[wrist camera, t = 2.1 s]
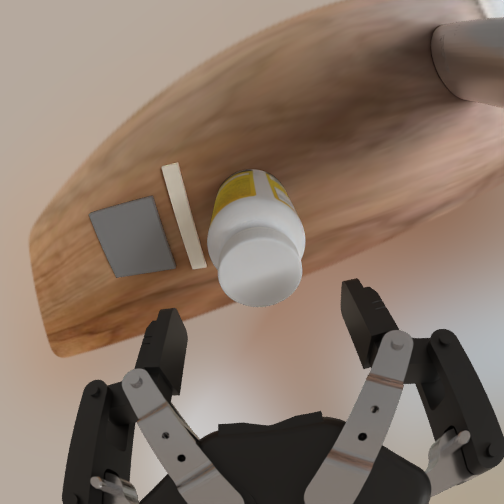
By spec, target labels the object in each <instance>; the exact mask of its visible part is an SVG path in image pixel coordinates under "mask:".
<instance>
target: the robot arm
mask: <svg viewBox="0 0 504 504" xmlns="http://www.w3.org/2000/svg"><path fill="white" fill-rule="evenodd" d="M431 51H432V57H433V61H434V64H435V67H436V70H437V72H438V74H439V76H440V78H441V80H442V81H443V83H444V84H445V86H446V87H447V88H448V89H449V90H450V91H451V92H452V93H453V94H454V95H455V96H457V97H459V98H461V99H463V100H468V101H473V102H479V103H483V104H488V105H492V106H496V107H501V108H504V17H503V18H487V19H477V20H469V21H461V22H456V23H450V24H445V25H441V26H439V27H438V28H436V30H435V31H434V33H433V36H432V39H431ZM341 312H342V316H343V319H344V321H345V324H346V326H347V328H348V331H349V333H350V335H351V338H352V341H353V343H354V346H355V348H356V351H357V353H358V356H359V359H360V361H361V364H362V366H363V369H365V368H369V367H371V371H370V373H369V375H368V377H367V378H366V381H365V383H364V385H363V388H362V390H361V392H360V394H359V397H358V399H357V401H356V403H355V405H354V407H353V410H352V412H351V414H350V416H349V418H348V420H347V422H345V421H343V420H340V419H336V418H331V417H322V413H321V411H319V412H314V413H309V414H303V415H298V416H294V417H292V418H289V419H287V420H284V421H282V422H279V423H276V424H274V425H269V426H266V425H257V424H249V423H234V424H219V425H218V431H215V432H213V433H210V434H208V435H206V436H205V437H203V438H202V439H199V437H198V436H197V435H196V434H195V433H194V432H193V431H192V430H191V428H190V427H189V426H188V424H187V423H186V422H185V420H184V419H183V418H182V416H181V415H180V414H179V412H178V411H177V409H176V408H175V407H174V405H173V404H172V403H171V397H172V395H180V389H181V382H182V375H183V368H184V360H185V354H186V348H187V340H188V337H187V332H186V328H185V326H184V324H183V322H182V320H181V318H180V315H179V313H178V311H177V309H176V308H170V309H162V310H160V311H159V314H158V318H157V320H156V321H152V322H151V323H150V325H149V326H148V327H147V329H146V332H145V335H144V339H143V342H142V345H141V348H140V352H139V355H138V359H137V362H136V366H135V369H133V370H131V371H130V372H128V373H127V374H126V375H125V376H124V378H123V380H122V382H118V383H115V384H111V385H108V386H107V385H106V384H105V383H104V382H103V381H102V380H94V381H92V382H90V383H89V384H88V385H87V386H86V387H85V389H84V392H83V395H82V399H81V402H80V406H79V410H78V413H77V417H76V421H75V425H74V430H73V434H72V439H71V444H70V448H69V453H68V459H67V464H66V471H65V478H64V484H63V493H62V501H63V504H429V500H430V497H432V496H434V495H437V494H439V493H441V492H443V491H444V490H447V489H449V488H451V487H453V486H455V485H459V484H462V483H464V482H466V481H468V480H470V479H472V478H474V477H476V476H478V475H480V474H482V473H484V472H486V471H488V470H490V469H492V468H493V467H495V466H497V465H498V464H499V463H500V462H501V460H502V459H503V457H504V436H503V434H502V431H501V428H500V425H499V423H498V420H497V418H496V415H495V413H494V410H493V408H492V406H491V403H490V401H489V399H488V397H487V394H486V392H485V390H484V388H483V386H482V384H481V382H480V379H479V377H478V375H477V373H476V372H475V370H474V368H473V366H472V364H471V362H470V360H469V358H468V356H467V354H466V353H465V351H464V349H463V348H462V346H461V344H460V342H459V340H458V339H457V337H456V335H454V333H453V332H451V331H449V330H446V329H439V330H436V331H435V332H433V334H432V335H431V338H411V336H410V335H409V334H408V333H406V332H404V331H401V330H399V328H398V327H397V325H396V323H395V321H394V320H393V318H392V316H391V315H390V313H389V311H388V309H387V308H386V307H385V305H384V303H383V302H382V299H381V298H380V296H379V295H378V293H377V292H376V291H375V290H373V289H372V288H371V287H365V288H363V286H362V284H361V283H360V281H359V280H358V279H357V278H356V279H351V280H347V281H343V282H342V290H341ZM413 383H415V384H416V387H417V389H418V392H419V395H420V397H421V400H422V403H423V406H424V408H425V411H426V414H427V417H428V420H429V423H430V426H431V429H432V432H433V436H434V439H435V443H433V445H432V446H431V448H430V450H429V454H428V457H429V464H428V467H427V469H426V471H425V472H424V471H423V470H422V469H421V468H419V467H418V466H416V465H414V464H413V463H410V462H409V461H407V460H406V459H404V458H402V457H401V456H399V455H397V454H395V453H394V452H392V451H391V450H389V449H388V448H386V447H384V446H383V445H382V444H383V442H384V439H385V437H386V434H387V432H388V429H389V427H390V424H391V422H392V419H393V417H394V414H395V411H396V408H397V405H398V403H399V399H400V396H401V394H402V390H403V386H404V385H403V384H413ZM135 422H137V424H138V426H139V428H140V429H141V431H142V433H143V435H144V436H145V438H146V440H147V441H148V443H149V445H150V446H151V448H152V450H153V451H154V453H155V454H156V456H157V458H158V459H159V461H160V462H161V464H162V465H163V467H164V468H165V470H166V471H167V473H168V474H167V475H166V476H165V477H164V478H163V479H162V480H161V481H160V482H159V484H157V485H156V486H155V487H154V489H152V491H150V492H149V493H148V494H147V495H146V496H145V497H144V498H143V499H142V500H141V501H140V503H139V501H138V495H137V493H136V489H135V487H134V486H133V485H132V484H131V483H130V482H129V481H130V467H131V455H132V446H133V437H134V429H135Z"/></svg>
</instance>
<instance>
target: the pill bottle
mask: <svg viewBox="0 0 504 504" xmlns="http://www.w3.org/2000/svg"><path fill="white" fill-rule="evenodd" d="M207 246H208V252H209V256H210V258H211V261H212V263H213V264H214V266H215V267H216V268H217V270H218V279H219V283H220V285H221V287H222V289H223V291H224V292H225V293H226V295H228V296H229V297H230V298H231V299H233V300H234V301H236V302H238V303H240V304H243V305H246V306H251V307H265V306H270V305H274V304H277V303H279V302H281V301H283V300H285V299H286V298H287V297H289V296H290V295H291V294H292V293H293V292H294V291H295V290H296V288H297V287H298V285H299V283H300V281H301V277H302V264H301V258H302V256H303V253H304V249H305V232H304V229H303V226H302V223H301V221H300V219H299V217H298V214H297V212H296V210H295V208H294V207H293V205H292V203H291V201H290V199H289V197H288V195H287V193H286V191H285V189H284V187H283V186H282V184H281V183H280V182H279V181H278V180H277V179H276V178H275V177H274V176H273V175H271V174H269V173H267V172H265V171H261V170H256V169H248V170H243V171H239V172H237V173H235V174H233V175H231V176H230V177H229V178H227V179H226V180H225V181H224V182H223V184H222V185H221V187H220V189H219V191H218V193H217V196H216V200H215V205H214V209H213V214H212V218H211V223H210V227H209V232H208V238H207Z"/></svg>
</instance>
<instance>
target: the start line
mask: <svg viewBox="0 0 504 504" xmlns="http://www.w3.org/2000/svg"><path fill="white" fill-rule="evenodd" d="M162 171H163V175H164V178H165V182H166V186H167V189H168V193H169V196H170V200H171V203H172V206H173V210H174V213H175V216H176V220H177V223H178V226H179V229H180V233H181V236H182V239H183V242H184V245H185V248H186V251H187V254H188V257H189V260H190V263H191V266H192V269H199V268H205V267H207V264H206V261H205V258H204V254H203V251H202V248H201V244H200V241H199V237H198V234H197V230H196V227H195V223H194V220H193V216H192V213H191V209H190V205H189V202H188V198H187V194H186V191H185V187H184V183H183V179H182V175H181V171H180V167H179V163H178V162H177V163H173V164H169V165H165V166H162Z"/></svg>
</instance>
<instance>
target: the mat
mask: <svg viewBox="0 0 504 504" xmlns="http://www.w3.org/2000/svg"><path fill="white" fill-rule="evenodd" d="M89 216H90V219H91V222H92V224H93V227H94V229H95V232H96V234H97V236H98V239H99V241H100V243H101V246H102V248H103V250H104V252H105V255H106V257H107V259H108V261H109V263H110V266H111V268H112V270H113V272H114V274H115V276H116V278H118V277H125V276H131V275H137V274H144V273H150V272H157V271H163V270H169V269H175V268H176V264H175V261H174V258H173V255H172V253H171V250H170V247H169V244H168V241H167V238H166V235H165V232H164V229H163V226H162V223H161V220H160V217H159V214H158V211H157V208H156V205H155V202H154V198H153V196H149V197H145V198H141V199H137V200H133V201H129V202H126V203H122V204H118V205H115V206H111V207H108V208H104V209H101V210H98V211H94V212H91V213H90V214H89Z"/></svg>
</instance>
